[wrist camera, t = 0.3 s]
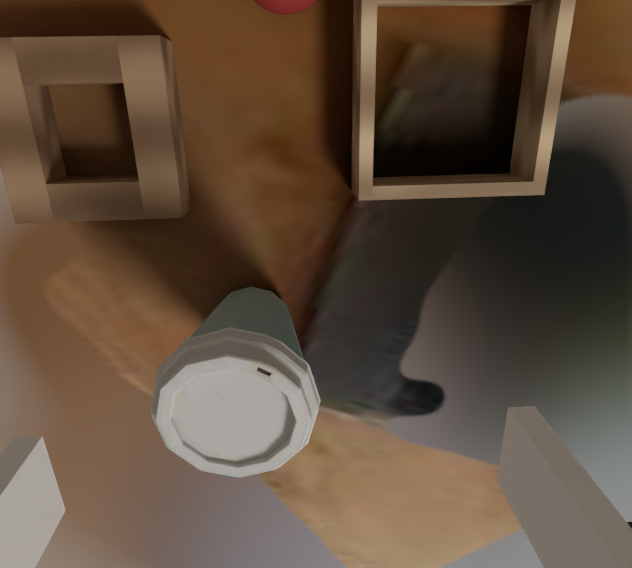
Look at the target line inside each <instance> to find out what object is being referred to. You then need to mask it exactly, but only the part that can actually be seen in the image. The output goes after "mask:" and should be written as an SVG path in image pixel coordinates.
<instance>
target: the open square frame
mask: <svg viewBox="0 0 632 568" xmlns="http://www.w3.org/2000/svg"><path fill="white" fill-rule="evenodd" d="M575 3H576V0H353V92H352V192H353V193H354V195H355V196H356V197H357V199H358V200H390V199H422V198H453V197H485V196H517V195H544V193H545V187H546V181H547V174H548V168H549V162H550V156H551V150H552V144H553V138H554V132H555V126H556V119H557V113H558V107H559V101H560V95H561V89H562V83H563V77H564V70H565V64H566V58H567V52H568V46H569V40H570V34H571V28H572V21H573V15H574V9H575ZM494 5H532V6H531V14H530V21H529V29H528V37H527V44H526V52H525V59H524V67H523V74H522V82H521V89H520V97H519V104H518V112H517V119H516V127H515V134H514V142H513V149H512V157H511V164H510V172H509V173H506V174H472V175H437V176H403V177H373V151H374V112H375V74H376V35H377V7H404V6H494Z"/></svg>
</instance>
